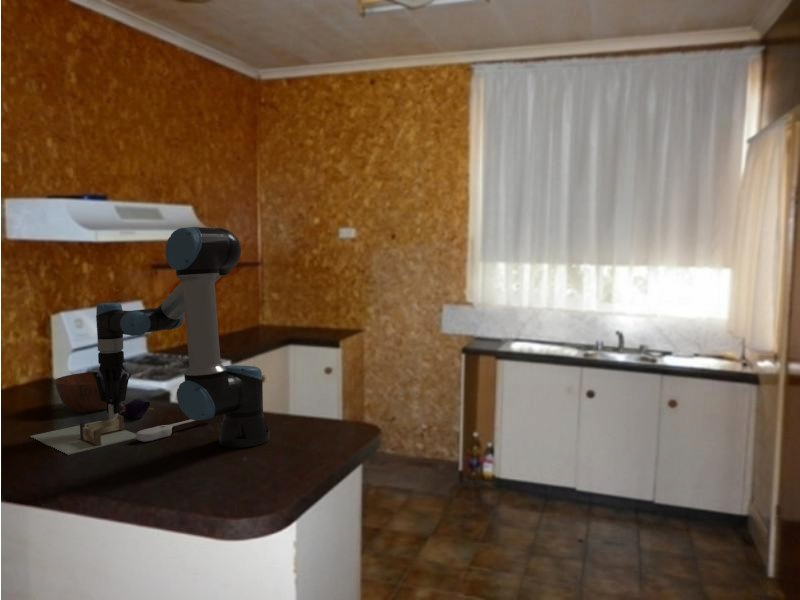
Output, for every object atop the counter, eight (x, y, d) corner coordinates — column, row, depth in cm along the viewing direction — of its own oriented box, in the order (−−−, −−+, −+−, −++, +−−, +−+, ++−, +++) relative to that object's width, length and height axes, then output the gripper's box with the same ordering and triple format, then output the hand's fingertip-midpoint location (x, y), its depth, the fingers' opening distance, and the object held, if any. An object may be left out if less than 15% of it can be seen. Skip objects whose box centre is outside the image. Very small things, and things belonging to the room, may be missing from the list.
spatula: (207, 421, 215) (207, 413, 215) (218, 423, 212) (218, 415, 212) (132, 441, 192) (131, 431, 192) (142, 444, 189) (142, 434, 189)
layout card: (141, 437, 197) (141, 435, 197) (67, 455, 180) (67, 453, 180) (100, 422, 215) (100, 420, 215) (30, 437, 198) (30, 435, 198)
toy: (152, 420, 217) (150, 401, 216) (116, 425, 214) (114, 406, 213) (154, 410, 228) (152, 392, 227) (120, 414, 224) (118, 396, 223)
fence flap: (88, 437, 195) (88, 423, 195) (86, 436, 196) (86, 423, 196) (124, 429, 203) (123, 416, 203) (122, 428, 204) (121, 415, 204)
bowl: (81, 419, 219) (80, 387, 218) (42, 410, 232) (40, 380, 231) (144, 404, 240) (142, 374, 239) (104, 396, 253) (103, 368, 252)
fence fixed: (101, 446, 188) (100, 428, 188) (96, 447, 187) (95, 429, 187) (84, 439, 195) (83, 422, 195) (79, 440, 194) (78, 423, 194)
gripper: (135, 350, 203) (138, 421, 205) (102, 348, 207) (105, 418, 209) (119, 353, 196) (122, 427, 198) (85, 352, 199) (88, 424, 201)
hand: (113, 423), depth 203 cm, fingers closed
